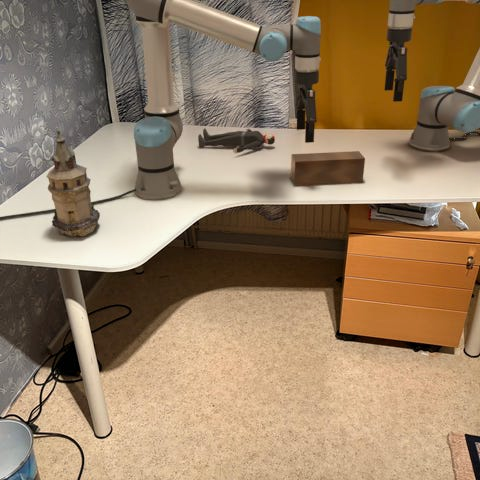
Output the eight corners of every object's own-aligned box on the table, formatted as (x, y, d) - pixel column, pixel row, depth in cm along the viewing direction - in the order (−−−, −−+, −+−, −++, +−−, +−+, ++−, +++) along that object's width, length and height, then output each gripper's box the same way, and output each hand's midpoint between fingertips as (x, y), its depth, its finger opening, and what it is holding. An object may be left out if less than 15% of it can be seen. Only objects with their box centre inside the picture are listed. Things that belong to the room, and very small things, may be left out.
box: (294, 186, 180) (295, 161, 176) (290, 178, 186) (291, 154, 182) (362, 182, 182) (365, 158, 178) (356, 174, 188) (359, 151, 184)
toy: (208, 122, 226) (279, 122, 220) (210, 136, 230) (279, 136, 223) (191, 142, 204) (269, 142, 198) (193, 157, 207) (270, 158, 201)
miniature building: (80, 214, 164) (63, 117, 149) (111, 225, 157) (96, 125, 142) (44, 231, 154) (22, 130, 140) (75, 244, 147) (55, 139, 133)
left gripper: (328, 78, 157) (325, 147, 168) (309, 61, 179) (307, 123, 189) (303, 79, 157) (301, 148, 167) (287, 62, 178) (286, 124, 189)
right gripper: (422, 33, 156) (413, 105, 167) (402, 21, 178) (395, 85, 188) (396, 34, 156) (389, 106, 167) (379, 21, 178) (374, 86, 189)
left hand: (304, 135), depth 178 cm, fingers open, 13 cm apart
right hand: (392, 95), depth 178 cm, fingers open, 13 cm apart
